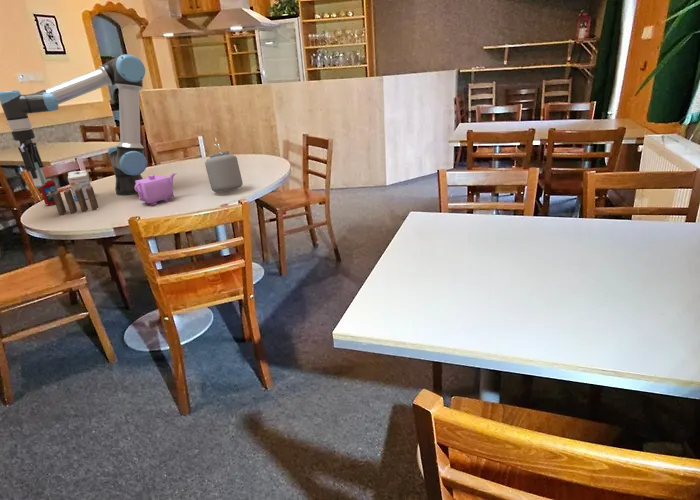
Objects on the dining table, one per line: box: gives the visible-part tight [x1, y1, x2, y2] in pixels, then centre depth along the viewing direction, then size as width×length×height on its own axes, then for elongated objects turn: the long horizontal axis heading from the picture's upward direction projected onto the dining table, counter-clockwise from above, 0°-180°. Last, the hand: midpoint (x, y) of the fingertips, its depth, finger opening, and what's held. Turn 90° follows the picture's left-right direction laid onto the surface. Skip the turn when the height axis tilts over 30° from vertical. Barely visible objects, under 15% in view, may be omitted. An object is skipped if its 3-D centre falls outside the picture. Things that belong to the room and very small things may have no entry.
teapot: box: [135, 172, 177, 206], centre depth 208 cm, size 20×10×12 cm, turn 134°
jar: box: [204, 137, 244, 193], centre depth 212 cm, size 19×15×25 cm
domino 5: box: [86, 185, 100, 211], centre depth 205 cm, size 2×5×10 cm, turn 16°
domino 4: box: [75, 188, 89, 213], centre depth 204 cm, size 2×5×10 cm, turn 17°
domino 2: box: [52, 190, 67, 216], centre depth 202 cm, size 2×5×10 cm, turn 16°
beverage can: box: [38, 178, 58, 206], centre depth 220 cm, size 7×7×12 cm
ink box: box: [67, 170, 92, 202], centre depth 227 cm, size 9×8×13 cm
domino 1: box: [34, 162, 45, 188], centre depth 196 cm, size 2×5×10 cm, turn 16°
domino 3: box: [63, 188, 78, 215], centre depth 203 cm, size 2×5×10 cm, turn 16°
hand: (40, 184), depth 197 cm, fingers closed on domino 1, 5 cm apart
